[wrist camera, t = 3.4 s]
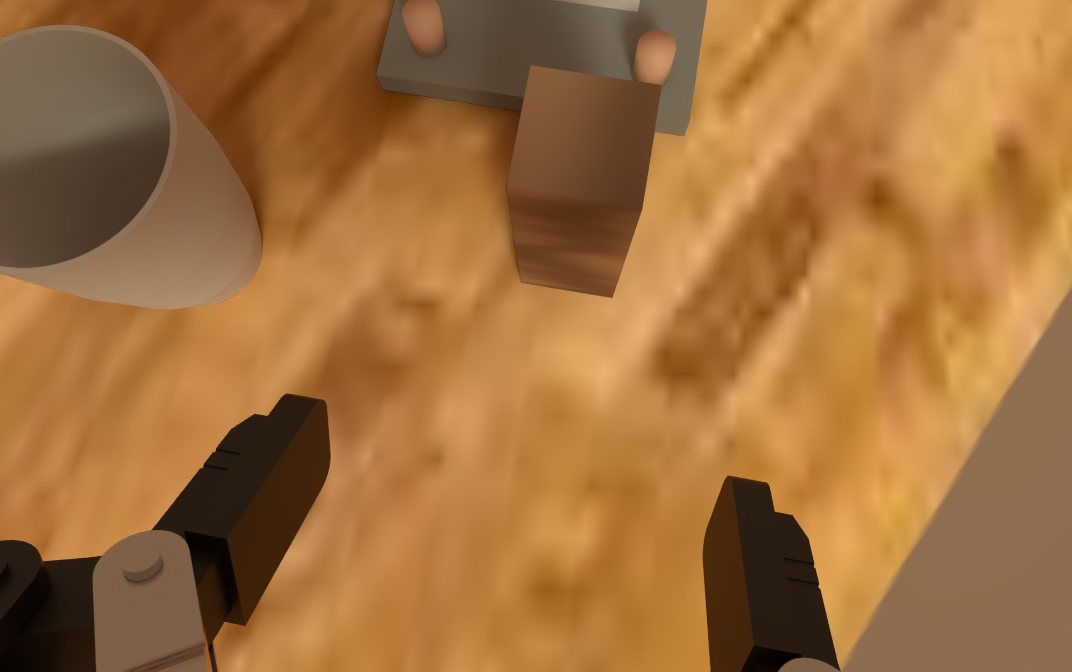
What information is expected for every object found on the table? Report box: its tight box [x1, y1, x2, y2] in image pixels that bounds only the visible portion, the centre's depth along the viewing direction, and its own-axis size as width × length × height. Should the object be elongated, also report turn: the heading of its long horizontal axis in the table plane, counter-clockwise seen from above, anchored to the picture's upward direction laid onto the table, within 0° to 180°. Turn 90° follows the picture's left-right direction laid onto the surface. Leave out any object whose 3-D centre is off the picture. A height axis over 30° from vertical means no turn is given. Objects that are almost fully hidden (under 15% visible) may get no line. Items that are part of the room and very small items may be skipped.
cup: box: [0, 25, 262, 309], centre depth 26 cm, size 8×8×10 cm
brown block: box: [506, 65, 662, 298], centre depth 25 cm, size 4×4×10 cm
